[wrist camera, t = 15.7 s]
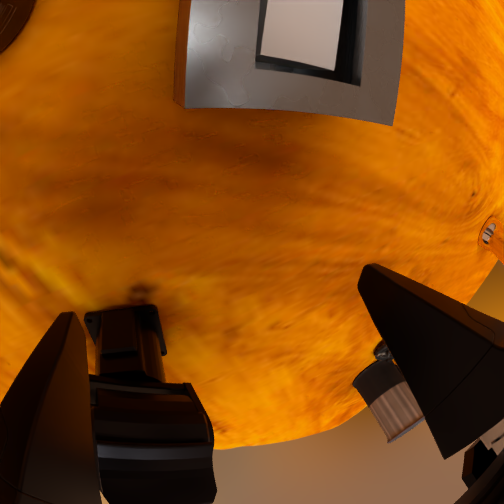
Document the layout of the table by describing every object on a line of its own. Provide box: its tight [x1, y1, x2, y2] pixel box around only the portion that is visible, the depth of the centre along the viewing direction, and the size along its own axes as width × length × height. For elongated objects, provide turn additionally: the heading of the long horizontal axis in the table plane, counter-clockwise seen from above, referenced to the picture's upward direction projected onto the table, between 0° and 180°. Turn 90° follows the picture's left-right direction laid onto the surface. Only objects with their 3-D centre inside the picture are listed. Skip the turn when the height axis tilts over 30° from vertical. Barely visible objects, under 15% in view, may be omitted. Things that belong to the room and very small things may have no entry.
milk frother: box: [353, 344, 425, 443], centre depth 41 cm, size 14×16×15 cm
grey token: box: [255, 0, 343, 71], centre depth 10 cm, size 6×4×2 cm, turn 173°
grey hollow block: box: [174, 0, 405, 126], centre depth 11 cm, size 11×11×6 cm
